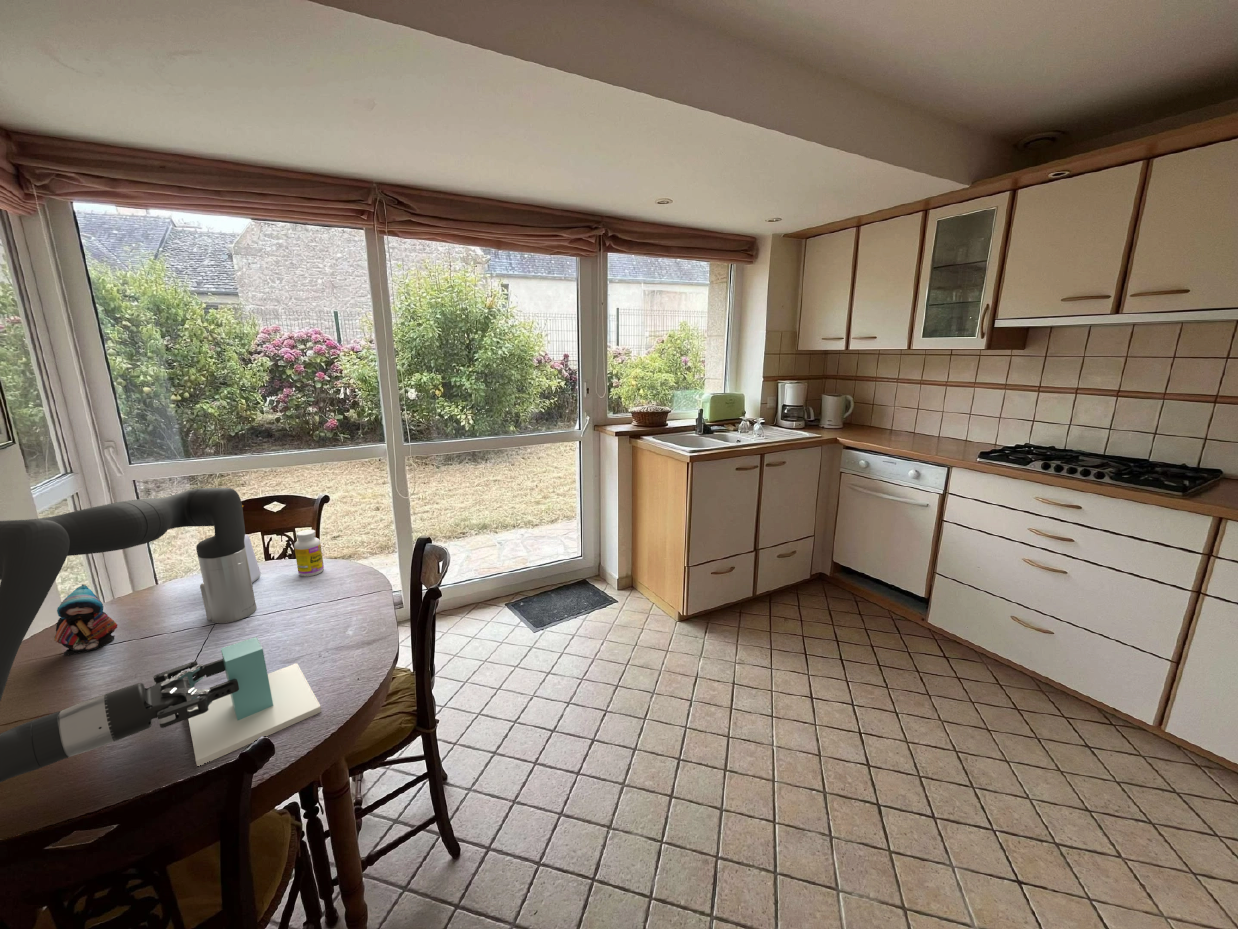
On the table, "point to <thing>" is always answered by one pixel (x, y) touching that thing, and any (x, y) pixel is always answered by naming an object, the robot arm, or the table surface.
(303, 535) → the supplement bottle
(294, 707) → the stub base
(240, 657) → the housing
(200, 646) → the table surface
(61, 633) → the figurine
